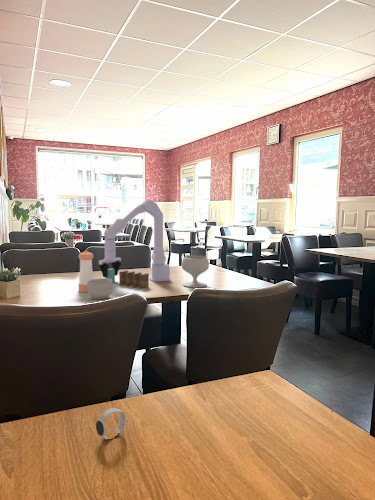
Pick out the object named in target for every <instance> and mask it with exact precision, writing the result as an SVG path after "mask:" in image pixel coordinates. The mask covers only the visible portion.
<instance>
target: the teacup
mask: <svg viewBox="0 0 375 500" xmlns="http://www.w3.org/2000/svg"><path fill="white" fill-rule="evenodd" d="M87 288H88V292H87V294H88V296H89V297H90V298H92V299H93V300H105V299H108V298H109V297H110V296H111V295H112V292H113V282H112V279H109V278H105V277H98V278H93V279H92V280H89V281H87Z"/></svg>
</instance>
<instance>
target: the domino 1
mask: <svg viewBox="0 0 375 500" xmlns="http://www.w3.org/2000/svg"><path fill="white" fill-rule="evenodd" d="M107 278H109V279H112V283H114V282H115V281H116V279H115V278H116V275H115V269H114V268H113V267H112V268H108V271H107Z"/></svg>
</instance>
